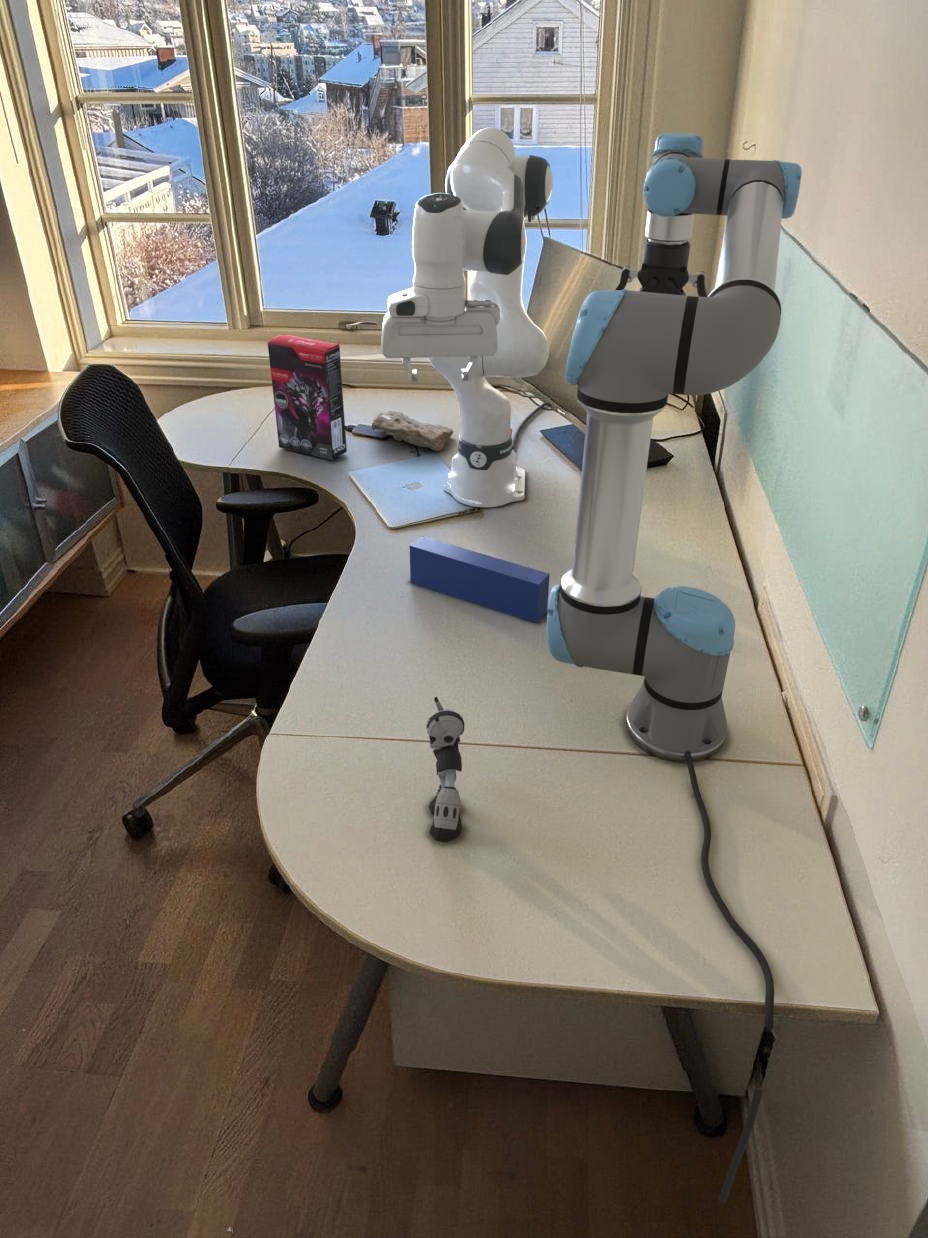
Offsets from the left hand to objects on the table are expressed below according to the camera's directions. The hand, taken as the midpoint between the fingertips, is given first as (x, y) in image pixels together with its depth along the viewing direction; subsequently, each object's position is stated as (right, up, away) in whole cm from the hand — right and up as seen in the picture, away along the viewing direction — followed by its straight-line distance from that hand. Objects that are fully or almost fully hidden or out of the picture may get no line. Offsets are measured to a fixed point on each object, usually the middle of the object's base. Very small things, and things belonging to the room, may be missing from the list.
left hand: (439, 380), depth 163 cm
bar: (+7, -38, +12) cm, 40 cm away
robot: (+2, -70, -36) cm, 79 cm away
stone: (-10, +4, +73) cm, 74 cm away
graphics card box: (-33, 0, +67) cm, 75 cm away
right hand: (+38, +2, 0) cm, 38 cm away
